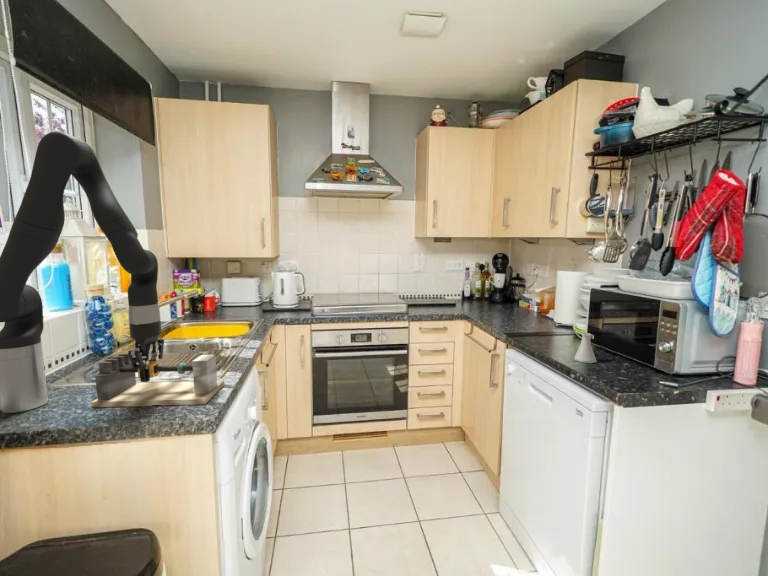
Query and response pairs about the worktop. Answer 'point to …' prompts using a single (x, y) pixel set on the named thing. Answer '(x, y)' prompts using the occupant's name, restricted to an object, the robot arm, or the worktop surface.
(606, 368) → the worktop surface
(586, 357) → the flask
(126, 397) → the cord board
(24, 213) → the robot arm
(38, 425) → the worktop surface
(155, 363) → the sleeve
